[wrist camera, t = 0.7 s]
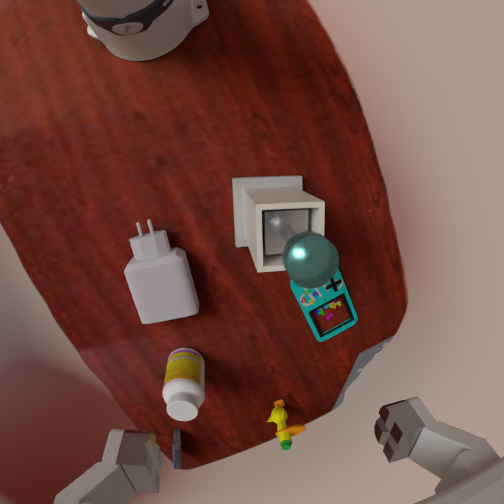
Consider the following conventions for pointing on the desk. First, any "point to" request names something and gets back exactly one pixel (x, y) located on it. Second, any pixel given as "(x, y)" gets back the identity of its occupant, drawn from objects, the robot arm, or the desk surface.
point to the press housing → (267, 198)
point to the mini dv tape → (177, 448)
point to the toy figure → (284, 425)
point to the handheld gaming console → (325, 304)
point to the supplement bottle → (184, 383)
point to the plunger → (299, 247)
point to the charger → (160, 278)
